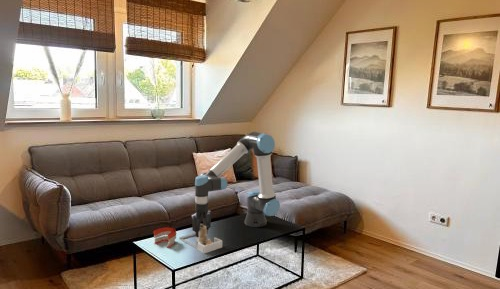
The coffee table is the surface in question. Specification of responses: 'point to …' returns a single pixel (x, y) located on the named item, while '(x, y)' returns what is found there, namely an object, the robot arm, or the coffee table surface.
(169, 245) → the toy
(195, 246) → the rails
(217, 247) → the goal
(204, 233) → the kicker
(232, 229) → the coffee table surface
